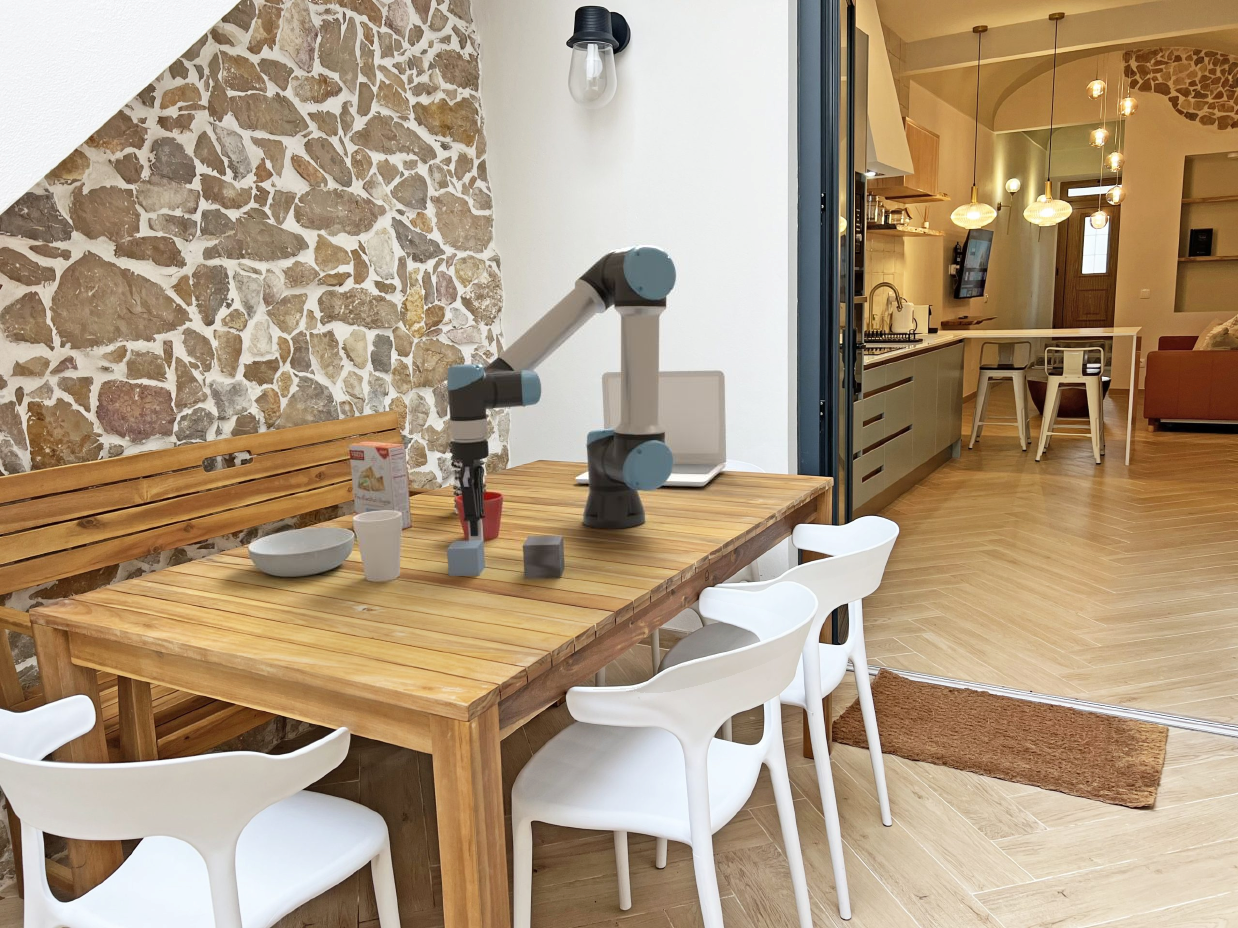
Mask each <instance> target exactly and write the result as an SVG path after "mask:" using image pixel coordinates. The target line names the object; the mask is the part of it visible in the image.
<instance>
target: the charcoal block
mask: <svg viewBox="0 0 1238 928" xmlns="http://www.w3.org/2000/svg"><path fill="white" fill-rule="evenodd" d="M564 547H565V546H564V535H535V536H534V535H533V536H532V535H528V536H527V538H526V540H525V541H524V543H523V544H522V556H523V557H522V558H523V572H524V573H523V574H524V579H529V580H531V579H561V578H562V575H563V573H564V571H565V566H566V565H565V548H564Z"/></svg>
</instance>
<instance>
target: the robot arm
mask: <svg viewBox="0 0 1238 928" xmlns="http://www.w3.org/2000/svg"><path fill="white" fill-rule="evenodd" d="M676 279H677V271H676V267H675V263H674V261H673V259H672V258H671V256H670V255H669V254H668V253H667V252H666V251H665V250H664V249H662V248H660V247H658V246H655V245H648V244H647V245H646V244H642V245H638V244H637V245H634V246H629V247H623V248H617V249H614V250H611V251H609V252H608V253H606V254H605V255H604V256H602V257H601V258H600V259H599V260H597V261H596V262H595V263H594V264H593V265H591V267H590V268H589V269H588V270H587V271H585V272H584V273H583V274H582V275H581V276H580V277H578V278H577V279H576V281H575V282H574V288H573V289H572V290H571V291H570V292H568V294H566V295H565V296H564V297H563V298H562V299H561V300H559V302H557V304H555V305H554V306H553V307H552V308H551V309H550V310H549V311H547V313H545V314H544V315H543V316H542V317H541V318H540V319H539V320H538V321H536V322H535V323H534V324H533V325H532V326H531V327H529V328H528V329H527V330H526V331H525V332H524V333H523V334H522V335H520V337H519V338H518V339H516V340H515V341H514V342H513V343H512V344H510V345H509V347H507V348H506V349H505V350H504V351H503V352H502V353H500V354H499V355H498V356H497V358H495V359H494V360H493V361H492V362H490V363H489V364H488V365H487V366H483V365H482V364H480V363H468V364H464V363H463V364H457V365H456V364H454V365H451V366H449V367H448V368H447V372H446V377H447V378H446V380H447V381H446V383H447V385H446V390H447V398H448V400H447V401H448V408H449V420H450V421H449V423H450V424H449V423H448V425H447V428H448V429H450V439H451V438H452V439H454V440H455V441H453V442H452V443H451V444H452V453H451V456H452V457H453V459H455V460H461V461H462V468H461V469H460V474H461V477H462V478H459V482H460V486H461V492H462V499H463V507H464V514H465V518H464V521H468V531H469V540H468V541H479V540H483V527H482V519H480V518H485V517H486V514H482V513H483V512H484V494H483V476H484V475H485V468H484V467H482V466H480V459H482V460H484V459H487V458H488V457H489V455H490V453H489V452H490V451H489V441H488V440H487V437H488V436H489V432H488V418H487V417H488V416H487V410H492V409H493V410H494V409H503V408H516V407H524V408H525V407H528V406H533V405H536V404H537V403H539V401H540V399H541V397H542V396H541V395H542V383H541V379H540V376H539V375H538V373H537V372H536V371H535V369H536V368H538V366H540V365H541V364H542V363H544V362H545V360H547V359H548V357H550V355H552V354H553V353H554V352H555V351H556V350H558V348H560V347H561V346H562V345H563V344H564V343H565V342H567V341H568V340H569V339H570V338H571V337H572V336H573V335H574V334H575V333H576V332H577V331H579V330H580V329H581V328H582V327H584V325H585V324H586V323H588V321H589V320H590V319H592V318H593V317H594V316H595V315H597V314H603V313H605V312H606V311H607V310H608V309H609V308H610V307H612V306H613V308H614V310H615V311H616V312H618V314H619V316H620V372H621V422H620V424H619V425H618V426H617V427H616V428H612V429H604V428H603V429H596V430H590V431H589V432H588V433H587V435H586V445H585V446H586V447H585V448H586V451H587V452H586V454H587V455H586V457H587V471H588V477H589V484H588V495H587V499H586V502H585V506H584V511H583V512H582V513H583V514H582V519H583V520H582V522H583V524H584V525H585V526H587V527H590V528H595V529H607V530H608V529H610V530H611V529H612V530H613V529H625V528H632V527H636V526H639V525H642V524H644V523H645V521H646V511H645V509H644V506H643V503H642V499H641V497H640V495H639V492H638V491H641V492H642V491H643V492H648V491H654V490H657V489H658V488H659V489H660V487H662V486H663V484H664V483H665V481H667V480H668V478H669V477H670V475H671V472H672V470H673V464H674V459H673V454H672V452H671V450H670V449H669V447H668V446H667V445H666V444H665V430H664V429H663V427H662V426H661V425H660V424H659V422H658V405H659V371H660V317H661V315H662V314H663V313H664V312H665V310H666V309H667V296H668V295H669V294H670V293H671V292H672V290H673V289H674V287H675V285H676V282H677V280H676ZM483 544H485V543H484V540H483Z"/></svg>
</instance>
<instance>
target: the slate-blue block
mask: <svg viewBox="0 0 1238 928" xmlns="http://www.w3.org/2000/svg"><path fill="white" fill-rule="evenodd" d="M483 542H484V540H479V541H469V540H454V541H452V543H450V545H449V546H448V547H447V548H446V555H447V566H448V570H447V571H448V576H449V577H464V576H465V577H466V576H467V577H469V576H470V577H471V576H472V577H473V576H474V577H475V576H476V575H477V576H478V577H479V576H480V575H481V573H482V572H483V571H484V569H485V568H486V563H485V545H484V544H485V543H484V544H483Z"/></svg>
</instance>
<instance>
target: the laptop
mask: <svg viewBox="0 0 1238 928" xmlns="http://www.w3.org/2000/svg"><path fill="white" fill-rule="evenodd" d="M725 381H726V380H725V373H724V372H723V371H722V370H672V371H671V370H670V371H668V370H667V371H666V370H665V371H660V370H659V405H658V422H659V424H660V425H661V426H662V427H663V429H664V430H665V444H666V445H667V446H668V447H669V449H670V450H671V452H672V454H673V459H674V464H673V470H672V472H671V475H670V477H669V478H668V480H667V481H665V483H664V484H663V485H662V486H669V487H704V486H705V485H706V484H707V483H709V482H710V481H711V480H712V479H714V478H715V476H717V475H718V474H719V473H721V472H722V471H723V470H724V469H725V468H726V462H727V440H726V439H727V436H726V433H727V432H726V431H727V430H726V385H725ZM601 383H602V384H601V385H602V386H601V387H602V389H601V390H602V408H603V429H612V428H616V427H617V426H618V425H619V424H620V422H621V371H613V372H612V371H607V372H605V373H603V374H602V377H601ZM575 481H576V482H577V483H578V484H586V485H587V484H588V485H589V477H588V470H587V471H585V472H583V473H582V474H580V475H577V476H576V477H575Z"/></svg>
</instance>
